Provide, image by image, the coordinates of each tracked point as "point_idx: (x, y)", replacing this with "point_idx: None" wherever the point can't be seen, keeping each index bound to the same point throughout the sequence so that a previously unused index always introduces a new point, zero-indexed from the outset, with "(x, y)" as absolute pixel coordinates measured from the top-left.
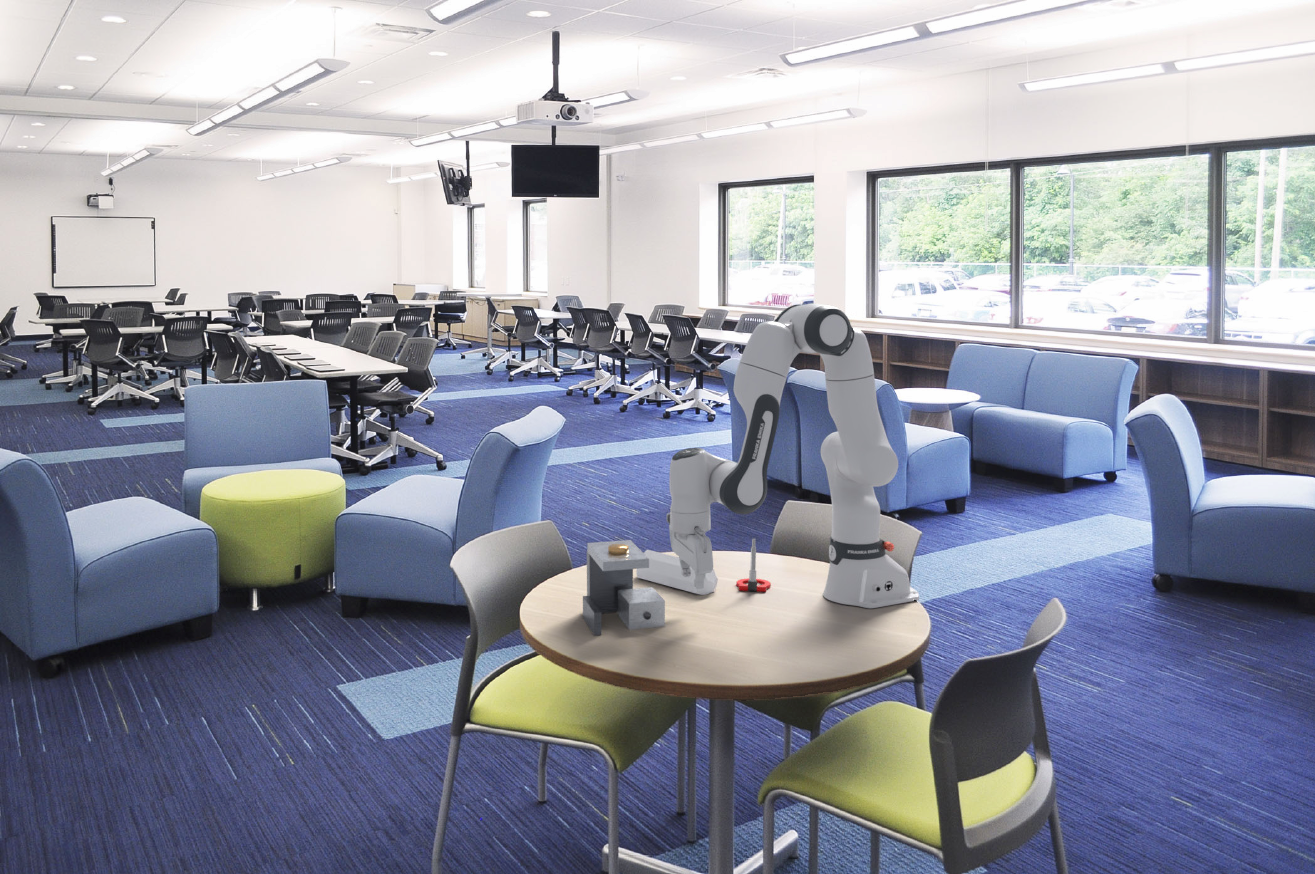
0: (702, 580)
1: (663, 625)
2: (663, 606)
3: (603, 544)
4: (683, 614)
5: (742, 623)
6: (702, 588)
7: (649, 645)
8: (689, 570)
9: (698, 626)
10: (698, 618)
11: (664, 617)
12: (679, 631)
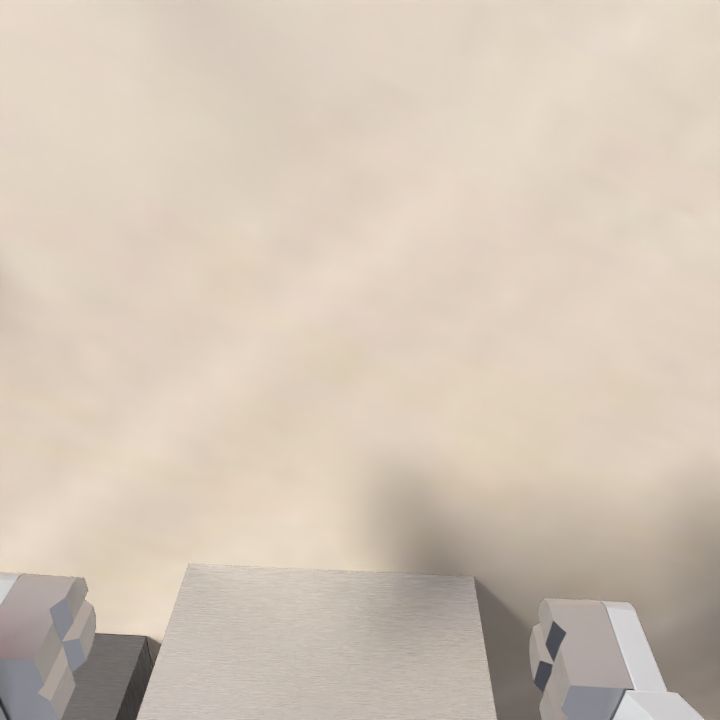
0: (676, 713)
1: (472, 586)
2: (491, 706)
3: None
4: (286, 421)
5: (704, 35)
6: (622, 605)
7: (716, 699)
8: (48, 652)
9: (575, 413)
10: (409, 357)
11: (480, 625)
12: (603, 537)
